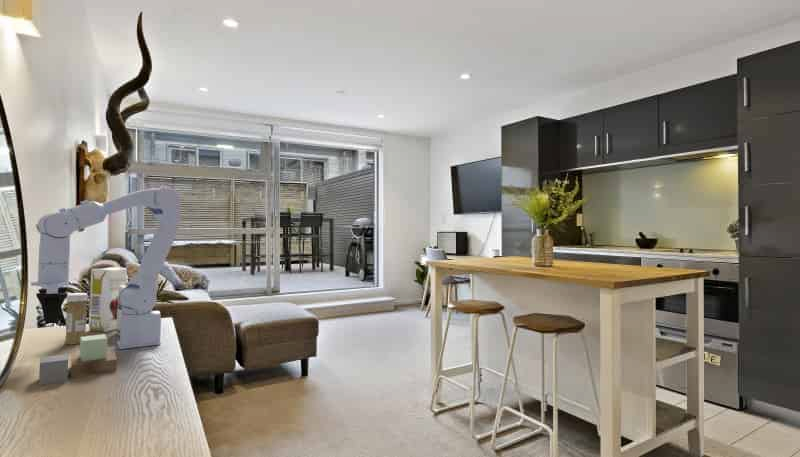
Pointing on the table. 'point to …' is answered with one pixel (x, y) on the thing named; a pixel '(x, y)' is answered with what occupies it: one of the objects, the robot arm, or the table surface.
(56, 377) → the grey block
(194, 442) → the table surface
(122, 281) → the juice carton
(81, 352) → the sage block
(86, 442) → the table surface
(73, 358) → the walnut block
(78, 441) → the table surface
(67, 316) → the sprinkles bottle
